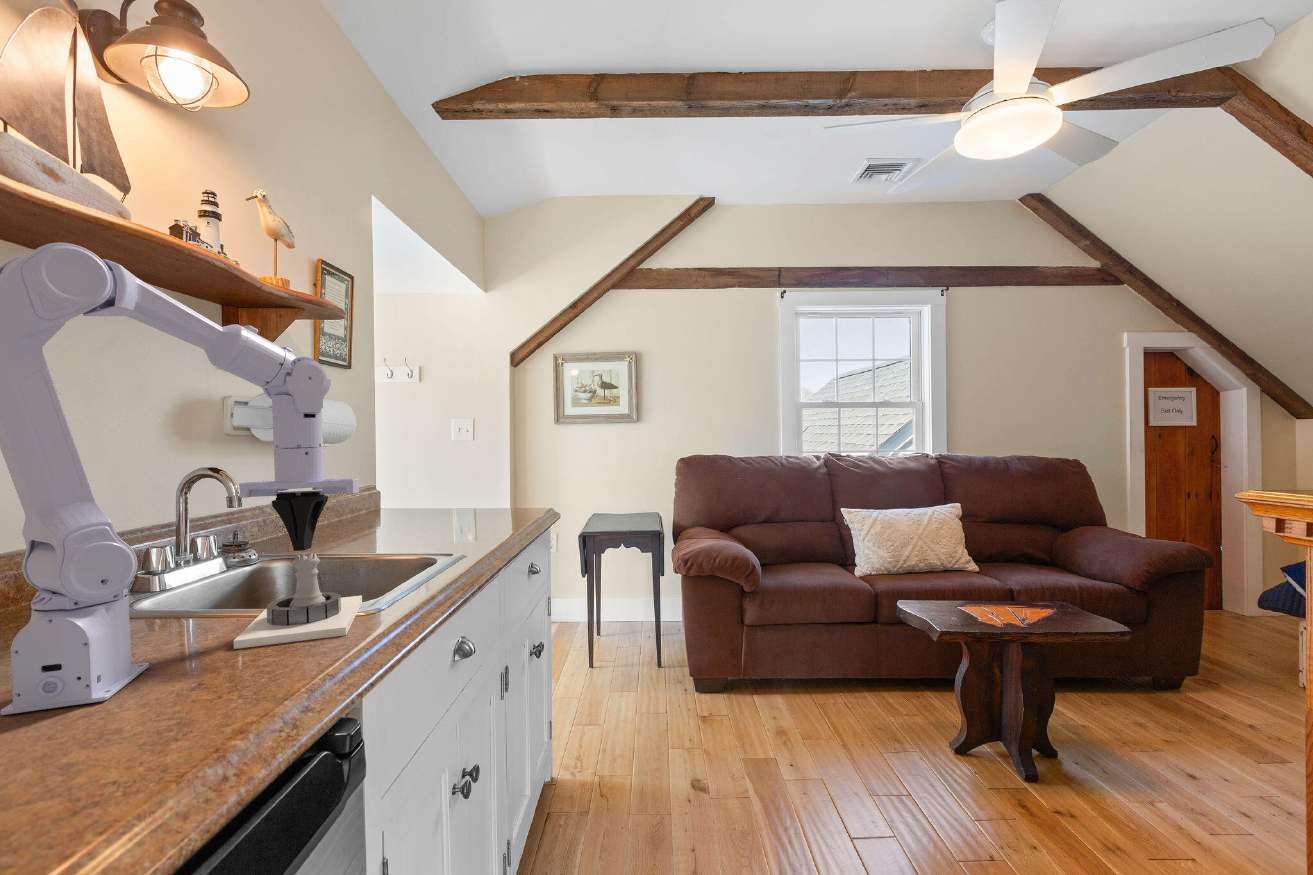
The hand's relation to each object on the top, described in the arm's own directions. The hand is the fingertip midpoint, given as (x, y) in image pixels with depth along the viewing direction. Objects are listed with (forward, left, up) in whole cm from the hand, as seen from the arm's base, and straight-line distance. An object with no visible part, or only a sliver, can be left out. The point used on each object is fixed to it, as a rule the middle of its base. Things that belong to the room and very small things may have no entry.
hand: (302, 549), depth 82 cm
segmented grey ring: (0, 0, -10) cm, 10 cm away
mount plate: (0, 0, -10) cm, 10 cm away
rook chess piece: (+1, 0, -9) cm, 9 cm away
